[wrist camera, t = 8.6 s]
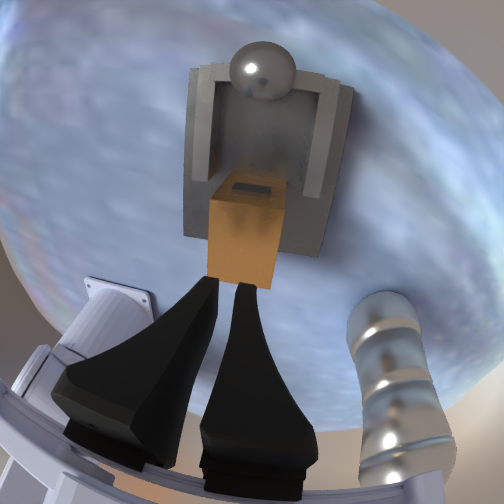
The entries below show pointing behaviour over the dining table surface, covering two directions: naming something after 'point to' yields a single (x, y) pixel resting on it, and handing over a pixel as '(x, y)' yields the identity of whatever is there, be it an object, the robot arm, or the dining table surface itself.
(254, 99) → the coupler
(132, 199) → the dining table surface
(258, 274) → the block
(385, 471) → the plastic bottle
